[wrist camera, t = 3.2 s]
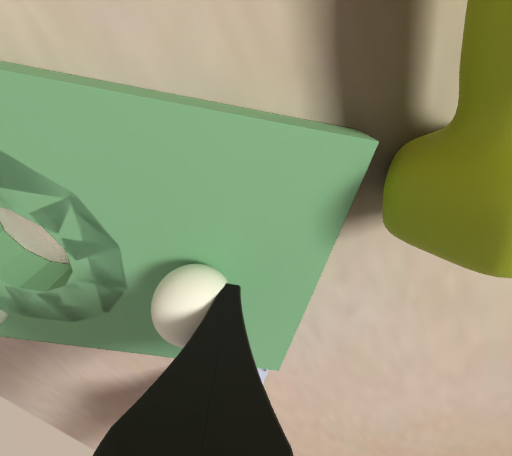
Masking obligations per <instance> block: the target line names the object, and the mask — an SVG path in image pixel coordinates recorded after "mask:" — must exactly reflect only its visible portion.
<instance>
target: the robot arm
mask: <svg viewBox="0 0 512 456" xmlns="http://www.w3.org/2000/svg"><path fill="white" fill-rule="evenodd" d="M267 373H268V369H260V368H257V367H256V364H255V361H254V358H253V355H252V351H251V348H250V344H249V340H248V336H247V332H246V328H245V323H244V318H243V312H242V305H241V287H240V286H239V285H234V284H228V283H226V284H225V286H224V287H223V288H222V289H221V290H220V292H219V293H218V295H217V296H216V297H215V299H214V301H213V303H212V305H211V307H210V308H209V310H208V312H207V313H206V315H205V317H204V319H203V320H202V322H201V323H200V325H199V326H198V328H197V329H196V331H195V332H194V334H193V335H192V337H191V338H190V340H189V341H188V342H187V344H186V345H185V346H184V348H183V349H182V350H181V352H180V353H179V354H178V355H177V357H176V358H175V359H174V360H173V362H172V363H171V364H170V365H169V366H168V368H167V369H166V370H165V371H164V372H163V374H162V375H161V376H160V377H159V378H158V379H157V380H156V381H155V383H154V384H153V385H152V386H151V387H150V388H149V389H148V390H147V391H146V392H145V393H144V395H143V396H142V397H141V398H140V399H139V400H138V401H137V402H136V403H135V404H134V405H133V406H132V407H131V408H130V409H129V410H128V411H127V412H126V413H125V414H124V415H123V416H122V417H121V418H120V419H119V420H118V421H117V422H116V423H115V424H114V425H113V426H112V427H111V428H110V430H109V431H108V433H107V434H106V435H105V437H104V438H103V440H102V441H101V443H100V444H99V446H98V447H97V449H96V451H95V452H94V454H93V456H293V452H292V449H291V446H290V444H289V442H288V440H287V438H286V436H285V434H284V432H283V430H282V428H281V426H280V424H279V422H278V419H277V417H276V415H275V413H274V410H273V408H272V406H271V404H270V401H269V399H268V396H267V394H266V391H265V389H264V386H263V383H264V381H265V378H266V376H267Z"/></svg>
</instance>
